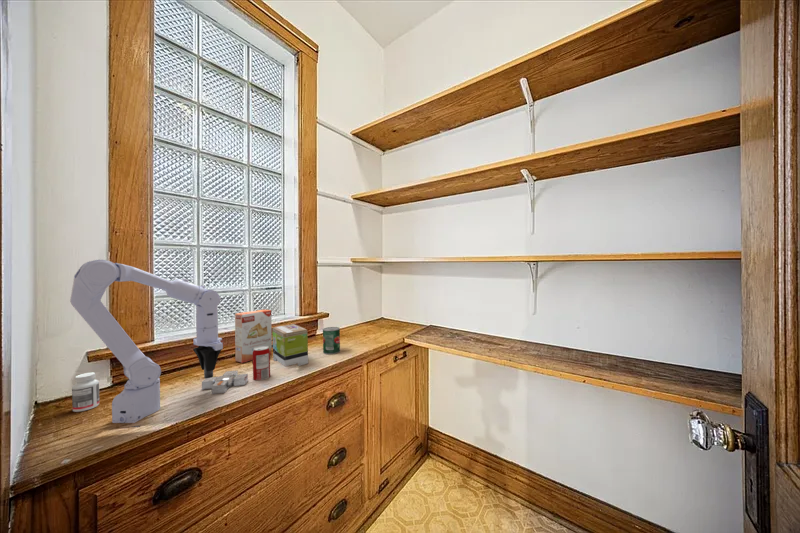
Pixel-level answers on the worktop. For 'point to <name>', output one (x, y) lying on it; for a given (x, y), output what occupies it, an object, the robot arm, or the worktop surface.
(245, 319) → the cracker box
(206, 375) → the black pin
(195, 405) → the worktop surface
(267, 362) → the soda can
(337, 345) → the canned tomato
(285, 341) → the tea box
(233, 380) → the tabbed chrome dome
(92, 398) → the pill bottle
